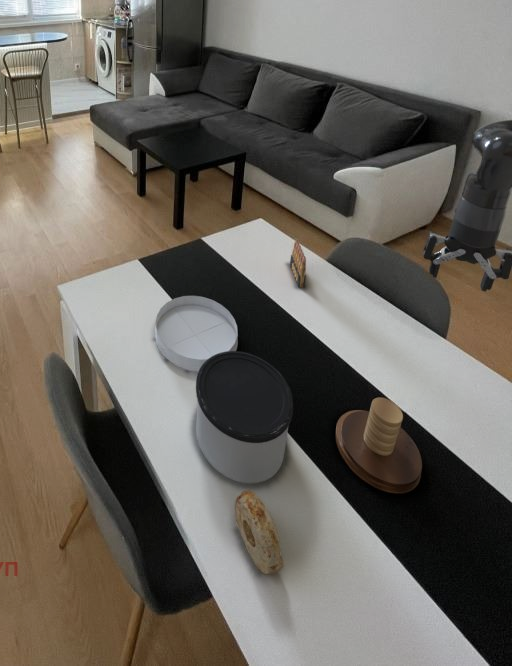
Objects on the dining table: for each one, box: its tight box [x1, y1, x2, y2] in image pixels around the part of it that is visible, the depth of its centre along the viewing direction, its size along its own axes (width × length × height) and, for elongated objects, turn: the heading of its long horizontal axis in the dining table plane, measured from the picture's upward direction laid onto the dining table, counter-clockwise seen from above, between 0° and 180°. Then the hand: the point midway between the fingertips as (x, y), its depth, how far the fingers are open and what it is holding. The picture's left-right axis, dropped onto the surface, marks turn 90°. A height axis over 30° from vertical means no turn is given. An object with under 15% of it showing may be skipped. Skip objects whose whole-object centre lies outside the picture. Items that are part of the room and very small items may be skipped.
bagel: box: [233, 489, 285, 575], centre depth 73 cm, size 10×4×10 cm, turn 19°
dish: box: [154, 295, 239, 373], centre depth 116 cm, size 22×22×5 cm
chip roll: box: [364, 397, 404, 456], centre depth 85 cm, size 5×5×10 cm
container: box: [195, 350, 294, 484], centre depth 89 cm, size 19×19×15 cm
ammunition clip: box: [289, 238, 307, 289], centre depth 134 cm, size 11×2×12 cm, turn 172°
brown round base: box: [335, 409, 423, 495], centre depth 87 cm, size 15×15×4 cm
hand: (458, 282), depth 93 cm, fingers open, 8 cm apart
